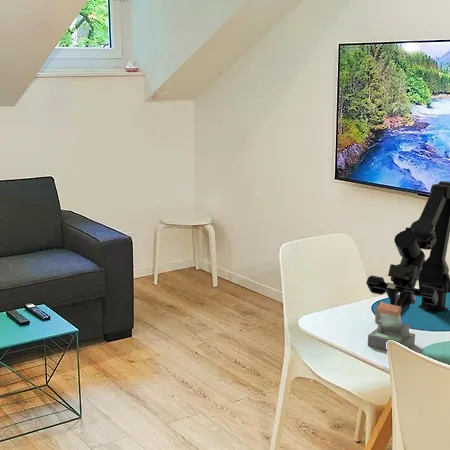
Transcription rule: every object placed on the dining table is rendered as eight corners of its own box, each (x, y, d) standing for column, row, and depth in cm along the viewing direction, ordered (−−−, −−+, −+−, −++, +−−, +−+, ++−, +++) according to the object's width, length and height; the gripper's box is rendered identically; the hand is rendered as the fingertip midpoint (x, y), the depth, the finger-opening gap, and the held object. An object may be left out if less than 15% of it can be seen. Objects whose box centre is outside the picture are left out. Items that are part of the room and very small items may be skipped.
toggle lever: (384, 325, 195) (380, 302, 190) (404, 329, 192) (400, 306, 186) (381, 331, 193) (377, 307, 188) (401, 335, 190) (397, 312, 185)
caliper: (378, 324, 208) (379, 304, 206) (374, 323, 209) (375, 303, 207) (409, 305, 223) (410, 286, 222) (405, 305, 224) (407, 285, 223)
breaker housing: (379, 336, 199) (380, 315, 197) (414, 344, 193) (415, 323, 192) (367, 345, 192) (368, 324, 191) (403, 354, 187) (404, 332, 185)
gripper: (370, 246, 196) (351, 296, 190) (438, 257, 186) (420, 310, 179) (380, 267, 204) (362, 315, 198) (445, 279, 194) (428, 330, 188)
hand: (392, 317), depth 190 cm, fingers closed, pressing on toggle lever
